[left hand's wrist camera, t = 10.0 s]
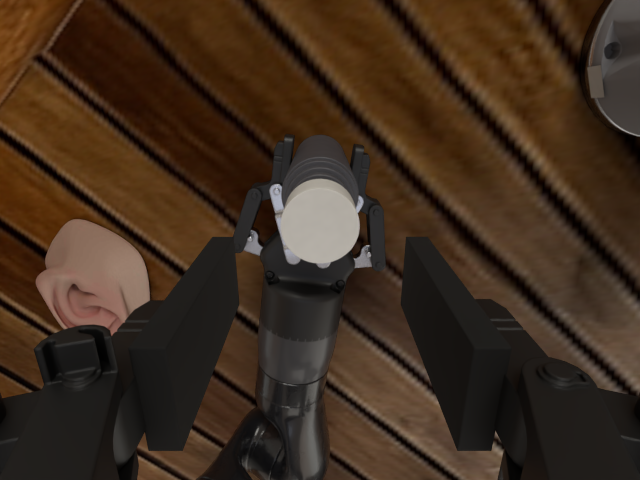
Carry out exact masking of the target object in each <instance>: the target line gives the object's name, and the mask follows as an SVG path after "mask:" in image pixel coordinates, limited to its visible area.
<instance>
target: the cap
mask: <svg viewBox="0 0 640 480" xmlns="http://www.w3.org/2000/svg"><path fill="white" fill-rule="evenodd" d="M280 227H281V234H282V238H283V240H284V242H285V244H286V246H287V247H288V249H289V250H290V251H291V252H292V253H293V254H294V255H296V256H297V257H299V258H300V259H302V260H305V261H307V262H311V263H329V262H333V261H335V260H338V259H340V258H341V257H343V256H344V255H346V254H347V253H348V252H349V251H350V250H351V249H352V247H353V246H354V244H355V243H356V240H357V238H358V235H359V229H360V223H359V217H358V214H357V210H356V207H355V204H354V201H353V199H352V197H351V195H350V194H349V193H348V191H347V190H346V189H345V188H344V187H342V186H341V185H340V184H338V183H336V182H334V181H331V180H327V179H313V180H309V181H306V182H304V183H302V184H300V185H299V186H298V187H296V188H295V189H294V190H293V191H292V193H291V194H290V195H289V197H288V199H287V202H286V204H285V207H284V211H283V214H282V217H281V224H280Z"/></svg>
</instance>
